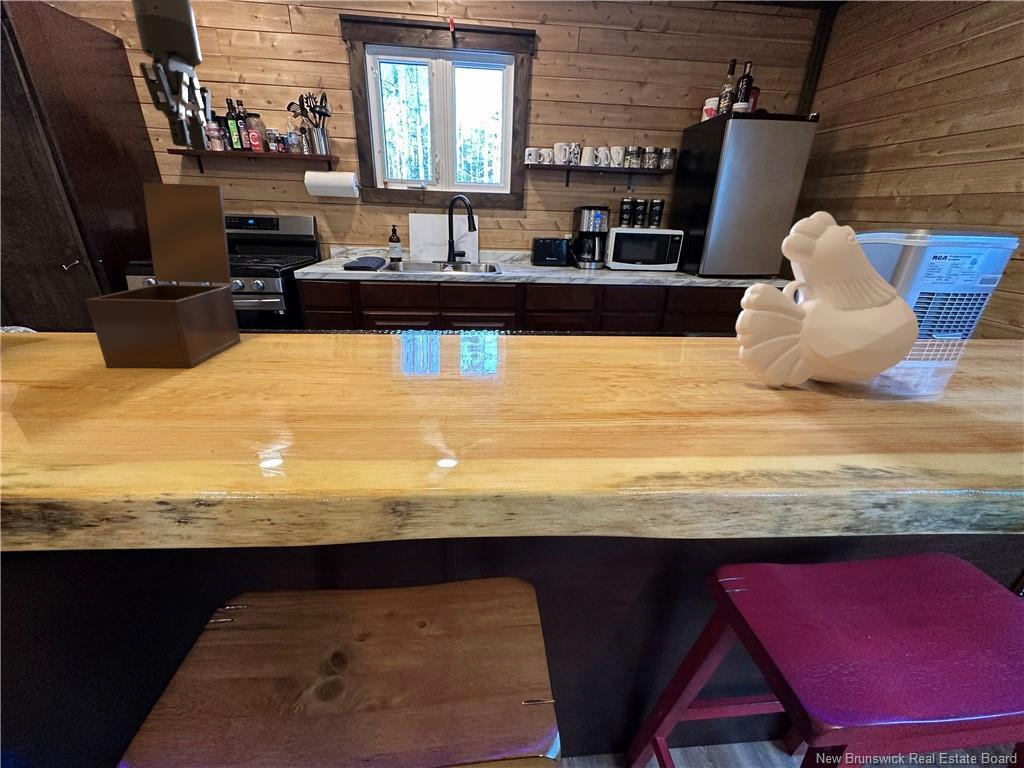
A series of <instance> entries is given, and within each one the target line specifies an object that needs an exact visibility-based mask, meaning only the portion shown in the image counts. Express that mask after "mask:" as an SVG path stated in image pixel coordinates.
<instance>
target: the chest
mask: <svg viewBox="0 0 1024 768" xmlns="http://www.w3.org/2000/svg"><path fill="white" fill-rule="evenodd" d="M85 302H86V305H87V308H88V312H89V315H90V318H91V321H92V325H93V328H94V331H95V335H96V338H97V341H98V344H99V348H100V351H101V354H102V357H103V361H104V364H105V367H106V368H134V369H135V368H137V369H138V368H140V369H143V368H145V369H146V368H147V369H148V368H149V369H153V368H154V369H192V368H195V367H196V366H198V365H200V364H202V363H204V362H206V361H207V360H209V359H211V358H213V357H215V356H217V355H218V354H220V353H222V352H224V351H226V350H228V349H230V348H232V347H233V346H235V345H237V344H239V343H241V342H242V340H241V334H240V329H239V325H238V320H237V314H236V309H235V304H234V298H233V293H232V287H231V286H230V285H213V284H212V285H208V284H172V283H171V284H169V283H167V284H166V283H156V284H152V285H151V284H150V285H146V286H142V287H138V288H133V289H128V290H123V291H119V292H114V293H110V294H104V295H99V296H96V297H91V298H86V299H85Z"/></svg>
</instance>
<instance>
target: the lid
mask: <svg viewBox="0 0 1024 768" xmlns="http://www.w3.org/2000/svg"><path fill="white" fill-rule="evenodd" d="M142 187H143V195H144V203H145V204H144V205H145V211H146V218H147V226H148V234H149V235H148V236H149V243H150V250H151V251H150V252H151V259H152V267H153V274H154V282H165V283H166V282H167V283H169V282H170V283H204V284H205V283H206V284H207V283H208V284H211V283H212V284H232V277H231V268H230V257H229V256H230V255H229V248H228V237H227V235H228V234H227V226H226V216H225V206H224V205H225V203H224V195H223V187H222V186H221V185H208V184H189V183H188V184H187V183H166V182H165V183H164V182H145V181H143V182H142Z"/></svg>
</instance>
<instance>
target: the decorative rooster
mask: <svg viewBox="0 0 1024 768" xmlns="http://www.w3.org/2000/svg"><path fill="white" fill-rule="evenodd" d="M781 252H782V254H783V256H784V257H785V258H786V259H788V260H789V261H790V266H791V270H792V273H793V276H794V279H795V280H792V281H790V282H789V283H787V285H785V287H784V288H783V289H782V290H780V289H779V288H777V287H775V286H773V285H771V284H769V283H761V282H757V283H755V284H753V285H750V286H749V287H748V288H747V289H746V290H745V292H744V295H743V297H742V299H741V301H740V306H741V307H740V308H742V309H743V310H742V311H741V312H740V313H739V315H738V317H737V320H736V323H735V331H736V341H737V343H738V344H739V345H741V346H740V347H739V350H738V358H739V359H738V360H739V361H740V363H742V364H744V367H745V369H746V370H747V371H748V372H751V373H752V374H753V376H754V377H756V378H757V379H758V380H759V381H760V382H761V383H763V384H765V385H767V386H770V387H775V386H776V387H777V386H781V385H782V386H783V387H786V388H795V387H796V386H799V385H801V384H803V383H804V382H806V381H807V380H814V381H818V382H824V383H832V384H837V383H838V384H839V383H853V382H863V381H868V380H871V379H873V378H876V377H877V376H879V375H881V374H882V373H884V372H886V371H887V370H889V369H891V368H893V367H895V366H896V365H898V364H900V363H901V362H902V361H903V360H904V359H905V358H906V357H907V356H908V355H909V354H910V352H911V351H912V350H913V348H914V346H915V345H916V343H917V341H918V338H919V335H920V330H919V322H918V317H917V315H916V313H915V312H914V310H913V309H912V308H911V306H910V305H909V304H908V303H907V302H906V300H905V299H904V298H902V297H901V296H900V295H898V294H897V293H898V290H897V289H896V288H895V287H894V286H893V285H891V283H889V282H887V281H886V279H884V277H882V276H881V274H880V273H878V272H877V270H876V269H875V268H874V266H873V265H872V264H871V262H870V261H869V259H868V257H867V255H866V253H865V252H864V249H863V248H862V246H861V244H860V242H859V240H858V239H857V235H856V233H855V230H854V229H853V228H852V226H850V225H842V226H841V225H838V224H837V221H836V220H835V218H834V217H833V216H832V215H831V213H828V212H827V211H823V210H822V211H816V212H814V213H813V214H811V215H810V216H809V217H804V218H802V219H800V220H799V221H797V222H796V223H794V225H793V226H792V227H791V229H790V231H789V234H788V235H787V236H786V237H785V238H784V239H783V241H782V244H781ZM797 290H798V302H797V303H796V302H795V292H796V291H797Z"/></svg>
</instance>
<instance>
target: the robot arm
mask: <svg viewBox="0 0 1024 768" xmlns="http://www.w3.org/2000/svg"><path fill="white" fill-rule="evenodd" d="M131 5H132V10H133V14H134V19H135V23H136V24H135V25H136V28H137V32H138V37H139V41H140V45H141V46H140V47H141V50H142V52H143V53H144V54H145V55H146V56H147V57H149V58H151V59H152V62H139V69H140V71H141V74H142V77H143V79H144V82H145V85H146V87H147V90H148V92H149V96H150V98H151V100H152V104H153V106H154V108H155V109H156V111H158V112H162V114H163V116H164V117H165V118H166V119H167V121H168V127H169V131H170V137H171V141H172V144H173V145H174V146H176V147H184V148H186V147H191V149H192V150H193V151H197V152H207V151H208V144H207V139H206V132H205V128H204V127H206V126H207V125H211V123H212V116H211V115H212V113H211V111H212V110H211V91H210V89H209V87H207V86H202V85H201V84H199V79H198V77H197V74H196V71H195V67H197V66H200V65H201V64H202V63H203V58H202V53H201V48H200V41H199V35H198V31H197V26H196V25H197V24H196V19H195V14H194V10H193V6H192V3H191V0H131Z"/></svg>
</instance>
